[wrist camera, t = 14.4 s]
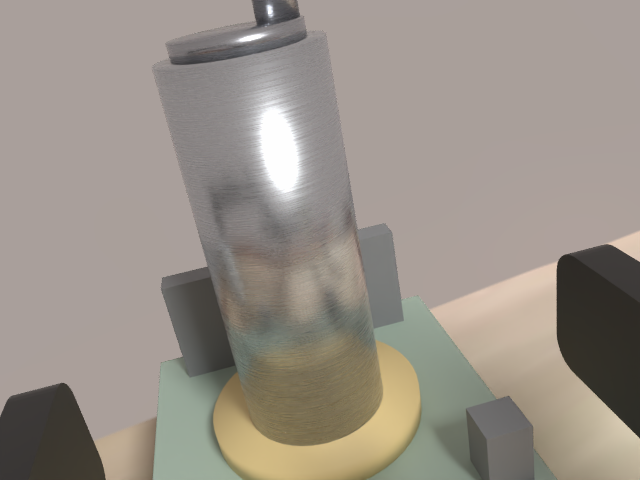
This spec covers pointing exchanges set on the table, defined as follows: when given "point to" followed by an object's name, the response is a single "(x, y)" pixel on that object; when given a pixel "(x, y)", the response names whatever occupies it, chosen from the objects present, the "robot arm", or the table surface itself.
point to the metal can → (276, 219)
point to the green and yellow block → (368, 441)
